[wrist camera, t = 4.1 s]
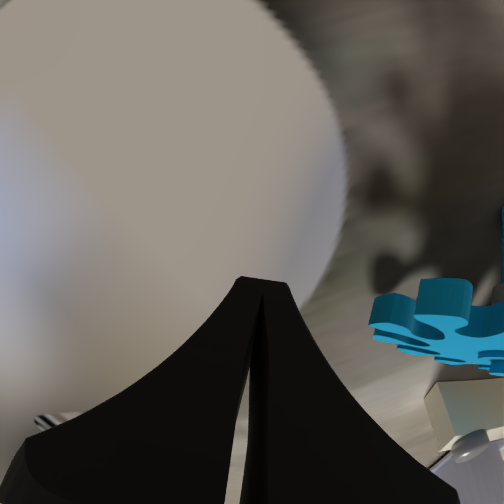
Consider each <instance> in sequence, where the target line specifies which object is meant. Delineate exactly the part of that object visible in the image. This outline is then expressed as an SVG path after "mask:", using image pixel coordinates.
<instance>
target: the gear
mask: <svg viewBox="0 0 504 504" xmlns="http://www.w3.org/2000/svg"><path fill="white" fill-rule="evenodd" d="M501 212H502V277H501V284H498V285H496V286H495V287H494V288H493V293H492V304H491V305H490V306H472V305H471V300H472V292H473V285H472V284H471V283H470V282H469V281H467V280H466V279H458V278H431V279H421V281H420V286H419V292H418V297H417V303H416V302H415V301H414V300H413V299H411V298H410V297H407V296H404V295H401V294H397V293H392V294H385V295H381V296H379V297H376V298H375V299H374V303H373V307H372V312H371V316H370V320H369V324H368V325H369V326H371V327H373V328H375V331H374V335H373V338H374V339H375V340H378V341H382V342H387V343H393V344H398V346H397V349H398V350H400V351H402V352H404V353H407V354H413V355H427V356H435V359H434V360H435V361H438V362H441V363H445V364H450V365H461V364H479V367H478V369H483V370H489V374H491V375H496V376H504V207H503V208H502V210H501Z"/></svg>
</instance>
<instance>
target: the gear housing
mask: <svg viewBox="0 0 504 504" xmlns="http://www.w3.org/2000/svg"><path fill="white" fill-rule="evenodd" d="M424 402H425V405H426V408H427V411H428V415H429V418H430V421H431V425H432V428H433V432H434V435H435V439H436V443H437V446H438V450H439V452H440V451H446V450H452V454H453V457H454V461H455V463H461V462H465V461H468V460H470V459H472V458H474V457H476V456H478V455H479V454H481V453H482V452H484V451H485V450H486V449H487V448H488V447H489V446H490V444H491V443H490V441H494V440H497V439H501V438H504V378H495V379H483V380H469V381H450V382H436V384H435V385H434V386H433V388H432V389H431V390H430V392H429V393H428V394H427V396H426V397H425V398H424Z"/></svg>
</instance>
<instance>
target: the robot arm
mask: <svg viewBox="0 0 504 504" xmlns="http://www.w3.org/2000/svg"><path fill="white" fill-rule="evenodd" d="M249 367H250V380H249V423H248V444H247V453H246V461H245V468H244V475H243V483H242V490H241V497H240V504H504V462H503V459H502V456H501V453H500V451H501V450H502V449H503V448H504V438H501V439H497V440H494V441H490V443H491V444H490V446H489V447H488V448H487V449H486V450H485V451H484V452H482V453H481V454H479V455H478V456H476V457H474V458H472V459H470V460H468V461H465V462H461V463H455V461H454V457H453V454H452V450H451V451H450V452H449V453H448V454H447V455H446V456H445V457H444V458H442V459H441V460H440V461H439V462H438V463H437V464H435V465H434V466H433V467H432V468H431V469H429V470H428V469H427V468H426V467H424V466H423V465H422V464H420V463H419V462H418V461H417V460H415V459H414V458H413V457H412V456H411V455H410V454H408V453H407V452H406V451H405V450H404V449H403V448H402V447H400V446H399V445H398V444H397V443H396V442H395V441H394V440H393V439H392V438H391V437H390V436H389V435H388V434H387V433H386V432H385V431H384V430H383V429H382V428H381V427H380V426H379V425H378V424H377V423H376V422H375V421H374V420H373V419H372V418H371V417H370V416H369V415H368V414H367V413H366V411H365V410H364V409H363V408H362V407H361V406H360V405H359V403H358V402H357V401H356V400H355V399H354V397H353V396H352V395H351V394H350V392H349V391H348V390H347V388H346V387H345V386H344V385H343V383H342V382H341V381H340V379H339V378H338V376H337V375H336V374H335V372H334V371H333V369H332V368H331V366H330V365H329V363H328V362H327V360H326V359H325V357H324V355H323V354H322V352H321V351H320V349H319V347H318V346H317V344H316V342H315V340H314V339H313V337H312V335H311V333H310V331H309V329H308V328H307V326H306V324H305V322H304V320H303V318H302V316H301V314H300V312H299V310H298V308H297V305H296V303H295V301H294V299H293V296H292V294H291V291H290V288H289V286H288V285H287V283H285V282H278V281H271V280H264V279H257V278H250V277H244V276H240V277H239V278H238V279H236V281H235V283H234V285H233V287H232V288H231V290H230V291H229V293H228V294H227V295H226V297H225V298H224V299H223V301H222V302H221V303H220V305H219V306H218V307H217V308H216V309H215V311H214V312H213V313H212V314H211V316H210V317H209V318H208V319H207V320H206V322H204V323H203V325H202V326H201V327H200V328H199V329H198V330H197V331H196V332H195V333H194V334H193V335H192V336H191V337H190V338H189V339H188V340H187V341H186V342H185V343H184V344H183V345H182V346H181V347H179V348H178V349H177V350H176V351H175V352H174V353H173V354H172V355H170V356H169V357H168V358H167V359H166V360H165V361H163V362H162V363H161V364H160V365H159V366H157V367H156V368H154V369H153V370H152V371H150V372H149V373H148V374H146V375H145V376H144V377H142V378H141V379H139V380H138V381H137V382H135V383H134V384H132V385H131V386H129V387H128V388H126V389H125V390H123V391H122V392H120V393H119V394H117V395H115V396H113V397H112V398H110V399H108V400H106V401H105V402H103V403H101V404H99V405H98V406H96V407H94V408H92V409H91V410H89V411H87V412H85V413H83V414H81V415H79V416H77V417H75V418H73V419H71V420H69V421H66V422H64V423H62V424H59V425H57V426H55V427H52V428H50V429H48V430H45V431H43V432H41V433H38V434H36V435H33V436H30V437H28V438H26V439H25V441H24V443H23V444H22V446H21V447H20V449H19V450H18V451H17V453H16V454H15V456H14V458H13V460H12V462H11V464H10V466H9V468H8V470H7V473H6V475H5V477H4V479H3V481H2V483H1V485H0V503H2V504H224V502H225V495H226V488H227V481H228V474H229V467H230V460H231V453H232V445H233V438H234V431H235V424H236V419H237V416H238V412H239V408H240V404H241V400H242V396H243V392H244V388H245V384H246V380H247V375H248V371H249Z"/></svg>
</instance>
